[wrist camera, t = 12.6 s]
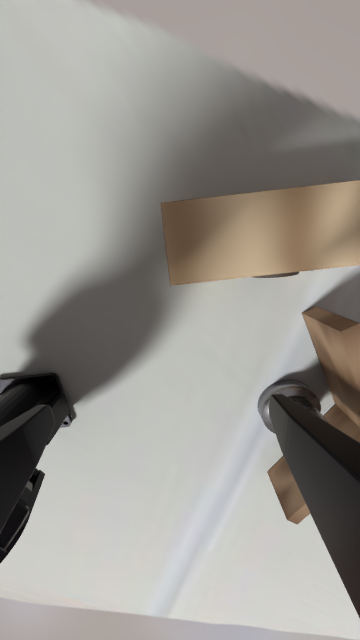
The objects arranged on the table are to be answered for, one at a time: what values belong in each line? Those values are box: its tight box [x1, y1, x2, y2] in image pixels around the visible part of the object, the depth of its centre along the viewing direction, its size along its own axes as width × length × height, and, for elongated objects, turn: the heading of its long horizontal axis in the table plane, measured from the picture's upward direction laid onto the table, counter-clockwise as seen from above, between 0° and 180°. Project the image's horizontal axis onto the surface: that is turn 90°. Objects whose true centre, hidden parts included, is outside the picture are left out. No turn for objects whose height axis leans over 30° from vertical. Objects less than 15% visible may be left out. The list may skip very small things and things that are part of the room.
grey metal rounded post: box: [258, 380, 330, 434], centre depth 17 cm, size 6×6×14 cm
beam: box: [161, 180, 360, 285], centre depth 16 cm, size 16×5×5 cm, turn 96°
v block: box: [267, 307, 360, 524], centre depth 21 cm, size 8×22×5 cm, turn 178°
